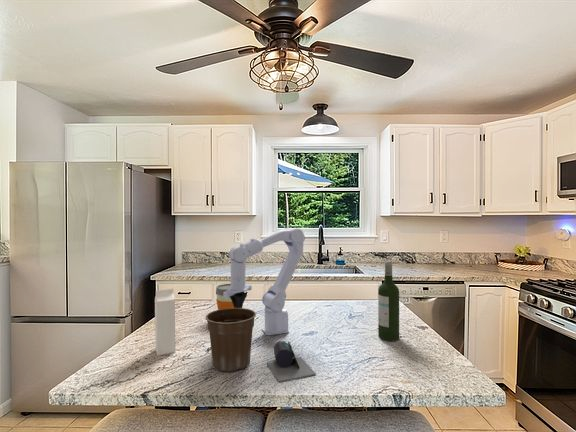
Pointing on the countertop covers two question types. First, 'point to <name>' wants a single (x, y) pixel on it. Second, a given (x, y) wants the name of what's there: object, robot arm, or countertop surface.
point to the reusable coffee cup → (223, 301)
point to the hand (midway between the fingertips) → (238, 311)
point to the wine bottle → (388, 307)
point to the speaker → (284, 354)
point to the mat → (291, 370)
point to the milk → (164, 322)
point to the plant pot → (230, 337)
